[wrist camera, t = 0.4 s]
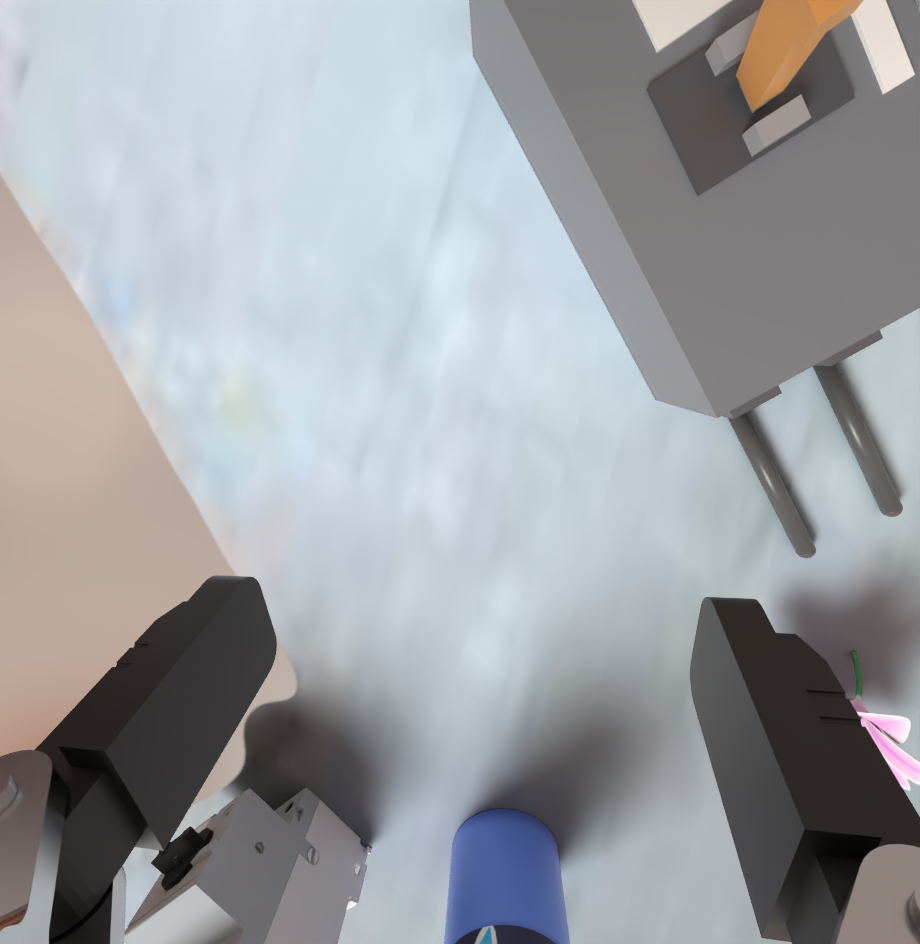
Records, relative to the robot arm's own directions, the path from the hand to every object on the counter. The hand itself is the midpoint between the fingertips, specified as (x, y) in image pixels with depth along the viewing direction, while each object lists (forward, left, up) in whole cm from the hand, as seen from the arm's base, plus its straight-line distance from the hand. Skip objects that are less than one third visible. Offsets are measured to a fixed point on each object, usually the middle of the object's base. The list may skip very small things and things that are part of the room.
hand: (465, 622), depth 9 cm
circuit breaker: (+21, -32, -28) cm, 47 cm away
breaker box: (0, +18, -28) cm, 33 cm away
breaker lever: (-7, +18, -16) cm, 25 cm away
